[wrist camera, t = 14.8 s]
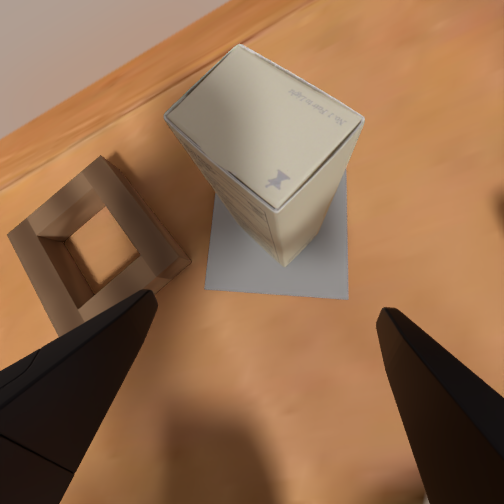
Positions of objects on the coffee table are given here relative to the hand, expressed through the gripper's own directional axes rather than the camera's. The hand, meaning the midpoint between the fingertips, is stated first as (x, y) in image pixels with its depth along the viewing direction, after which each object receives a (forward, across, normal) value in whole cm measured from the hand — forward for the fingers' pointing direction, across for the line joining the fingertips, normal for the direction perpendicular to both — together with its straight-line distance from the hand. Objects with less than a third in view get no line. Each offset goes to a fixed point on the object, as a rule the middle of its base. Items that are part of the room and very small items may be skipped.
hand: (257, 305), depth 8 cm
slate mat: (+12, 0, +3) cm, 12 cm away
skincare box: (+11, 0, +2) cm, 12 cm away
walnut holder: (+10, +17, +5) cm, 20 cm away
